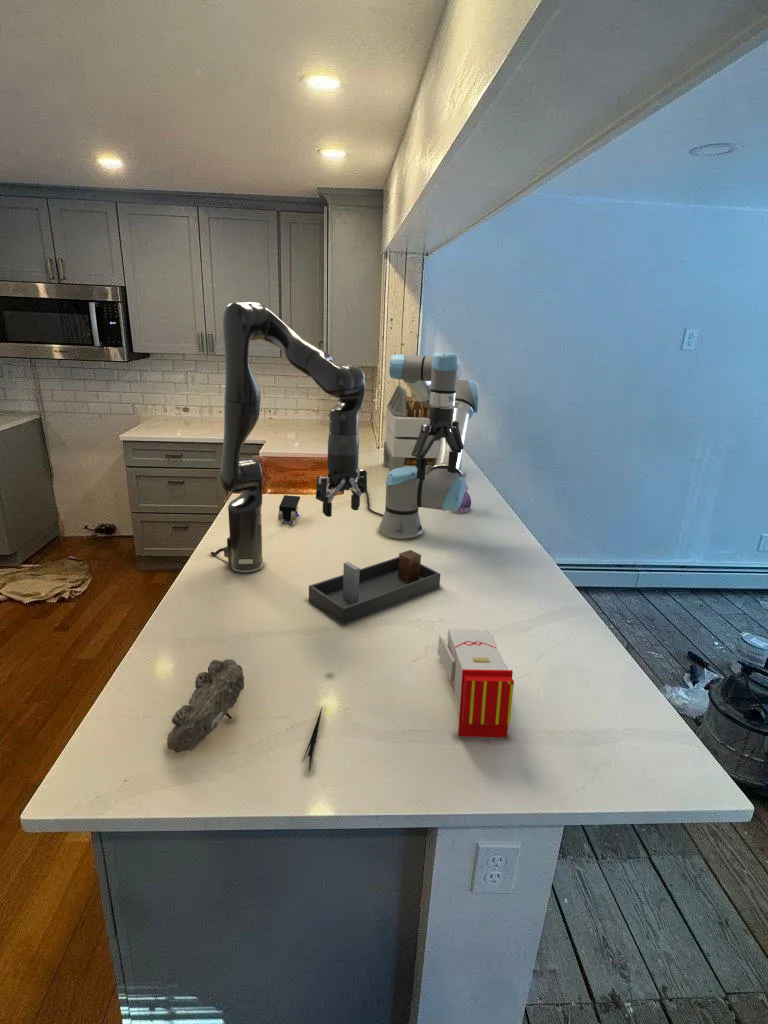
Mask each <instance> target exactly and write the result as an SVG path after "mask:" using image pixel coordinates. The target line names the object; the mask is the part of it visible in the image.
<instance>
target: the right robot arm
mask: <svg viewBox="0 0 768 1024" xmlns="http://www.w3.org/2000/svg"><path fill="white" fill-rule="evenodd" d="M462 371H463V365H462V362H461V361H460V360H459V355H458V353H455V352H445V351H438V352H434V353H433V355H432V356H431V355H430V356H429V355H413V354H404V353H402V354H398V353H397V354H392V356H391V357H390V359H389V364H388V373H389V377H390V378H391V379H392V380H393V379H394V380H402V381H403V382H404V383H405V385H406V386H407V388H408V389H409V392H410V396H412V397H413V398H414V399H415V400H416V401H417V402H419V403H420V404H422V405H424V406H426V407H429V416H428V418H429V419H430V424H429V425H425V424H422V426H421V432H420V434H419V437H418V439H417V442H416V444H415V447H414V449H413V452H412V456H414V457H416V458H417V464H416V466H404V467H401V468H396V469H393V470H391V471H390V470H389V472H388V473H387V475H386V482H385V504H384V505H385V507H384V508H385V509H384V513H380V512H377V511H375V510H373V509H371V508H370V498H369V497H370V496H369V493H368V491H367V492H366V493H365V496H366V504H367V510H368V511H369V512H370V513H372V514H374V515H377V516H380V517H382V519H381V522H379V525H378V533H379V534H380V535H381V536H382V537H385V538H387V539H389V540H395V541H410V540H415V539H418V538H420V537H421V536H422V535H423V525H422V524H421V518H420V515H419V508H422V509H430V510H431V509H432V510H440V511H444V512H453V511H456V510H457V509H458V508H459V507H460V505H461V502H462V499H463V496H464V491H465V486H466V484H467V479H466V480H465V478H462V477H463V472H462V470H461V471H460V470H459V469H460V463H461V464H462V462H461V458H462V457H463V449H464V447H465V440H466V434H467V427H468V422H469V420H470V419H472V418H473V416H474V414H477V413H478V412H479V384H478V382H476V381H475V380H469V379H460V377H461V375H462V373H463V372H462ZM431 435H432V436H431ZM437 439H440V443H439V448H438V453H437V458H436V464H435V466H431V468H430V469H429V472H428V473H426V468H427V466H426V459H425V458H424V457H425V456H426V454H427V452H428V451H429V449H430V447H431V446H432V444H433V443H434V441H436V440H437ZM416 452H417V453H416ZM355 483H356V484H357V481H356V480H355Z"/></svg>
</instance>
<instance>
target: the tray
mask: <svg viewBox="0 0 768 1024" xmlns="http://www.w3.org/2000/svg"><path fill="white" fill-rule="evenodd" d="M398 566H399V556H397V557H394V558H390V559H388V560H384V561H382V562H378V563H375V564H372V565H369V566H366V567H363V568H360V567H359V566H357V565H356V564H354V563H351V562H350V561H346V562H343V569H342V570H343V572H342V573H343V574H341V575H338V576H335V577H331V578H329V579H325V580H322V581H319V582H316V583H313V584H309V585H308V601H310V602H311V603H313V604H314V605H315V606H316V607H318V608H320V610H322V611H324V612H325V613H326V614H328V615H329V616H330V617H331V618H333V619H334V620H337V621H338V622H339V623H340V624H342V625H347V624H349V623H351V622H353V621H356V620H359V619H361V618H364V617H366V616H369V615H371V614H374V613H377V612H380V611H382V610H384V609H387V608H390V607H393V606H394V605H398V604H400V603H402V602H405V601H407V600H410V599H413V598H415V597H417V596H420V595H423V594H426V593H428V592H431V591H433V590H437V589H439V588H440V586H441V585H440V584H441V573H440V572H438V571H436V570H434V569H432V568H430V567H428V566H426V565H424V564H423V563H421V564H420V578H419V580H418V581H415V582H412V583H409V584H407V583H405V582H403V581H402V580H400V579H398Z"/></svg>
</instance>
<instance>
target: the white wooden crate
mask: <svg viewBox="0 0 768 1024" xmlns="http://www.w3.org/2000/svg"><path fill="white" fill-rule="evenodd" d="M407 394H408V393H407V390H406V389H404V388H403V387H402V385H399V384H398V385H397V386H396V388H395V390H394V392H393V394H392V395H391V398H390V400H389V402H388V404H387V405H386V413H385V414H386V415H385V423H386V428H385V438H384V442H383V466H384V467H388V468H389V472H390V471H391V470H393V469H396V468H401V467H405V466H406V467H416V464H417V458H416V457H414V456H412V452H413V449H414V447H415V444H416V442H417V439H418V437H419V434H420V432H421V426H422V424H425V425H429V424H430V419H429V418H428V416H429V407H426V406H424V405H422V404H420V403H419V402H417V401H416V400H415V399H414V398H413V397H412V395H407ZM431 436H432V435H431ZM439 443H440V439H437V440H436V441H434V443H433V444H432V446H431V447H430V449H429V451H428V452H427V454H426V456H425V457H424V458H425V459H426V467H433V466H435V464H436V458H437V453H438V448H439ZM416 453H417V452H416ZM462 461H463V460H462V457H461V463H460V469H459V470H460V471H461V472H462Z"/></svg>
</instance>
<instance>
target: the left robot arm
mask: <svg viewBox="0 0 768 1024" xmlns="http://www.w3.org/2000/svg"><path fill="white" fill-rule="evenodd" d="M222 328H223V329H222V332H223V345H224V347H223V348H224V359H225V361H224V362H225V363H224V364H225V366H224V368H225V371H224V372H225V373H224V374H225V377H224V379H225V381H224V382H225V383H224V403H223V404H224V405H223V410H224V411H223V413H224V415H223V416H224V417H223V419H224V420H223V421H224V423H223V442H222V450H221V458H220V468H219V473H220V474H219V475H220V476H219V478H220V483H221V487H222V488H223V490H224V491H225V492H226V493H228V494H235V493H239V492H241V493H240V495H238V497H236V498H233V499H232V500H231V501H230V502H229V503H228V506H227V511H228V513H227V514H228V531H229V536H228V537H227V538H226V546H225V547H222V548H221V547H220V548H218V549H217V550H216V551H215V552H214V551H210V555H211V556H217V555H219V554H220V553H221V552H223V557H225V558H227V566H228V569H231V570H232V571H234V572H237V573H241V574H243V573H254V572H256V571H260V570H261V569H262V568H263V567H264V558H263V527H262V505H263V488H264V487H263V486H264V484H263V483H264V475H263V467H262V466H261V463H260V461H259V460H258V459H257V458H256V457H253V456H248V457H242V458H241V451H242V449H243V446H244V444H245V442H246V441H247V439H248V437H249V436H250V434H251V433H252V432H253V429H254V428H255V426H256V425H257V423H258V421H259V418H260V413H261V398H262V397H261V389H260V386H259V384H258V382H257V380H256V377H255V375H254V373H253V371H252V369H251V366H250V357H249V353H250V351H249V350H250V342H252V341H259V340H263V341H265V342H268V343H270V344H272V345H274V346H276V347H277V348H279V350H280V351H281V352H282V354H283V356H284V357H285V359H286V360H287V362H288V363H289V364H290V365H291V366H293V367H294V368H296V369H297V370H298V371H300V372H302V374H304V375H306V376H308V377H309V378H311V379H312V381H314V382H315V384H317V386H318V387H319V388H320V389H321V390H322V391H323V392H324V393H325V394H327V395H328V396H330V397H332V398H337V399H338V402H337V404H336V405H335V406H334V407H332V408H331V409H330V411H329V417H328V419H329V421H328V423H329V424H328V427H329V428H328V429H329V430H328V438H327V466H326V467H327V470H328V473H327V476H321V475H318V476H317V477H316V485H315V486H316V488H315V499H316V500H318V501H320V502H322V513H323V515H324V516H325V517H327V518H330V517H332V515H333V514H332V513H333V511H332V510H333V503H332V501H333V500H334V497H336V496H337V495H338V493H341V492H344V491H350V492H351V495H350V497H351V498H350V508H351V510H352V511H359V508H360V505H361V496H362V495H363V494H366V492H367V493H368V471H367V470H365V469H362V468H359V454H360V438H359V423H360V413H361V409H362V406H363V402H364V398H365V394H366V386H367V381H366V376H365V373H364V371H363V370H362V369H361V368H360V367H359V366H358V365H354V364H353V365H351V364H349V365H341V366H339V365H337V364H335V363H334V361H333V357H332V356H331V355H330V353H328V352H327V351H326V350H324V349H323V348H321V347H319V346H317V345H316V344H314V343H312V342H311V341H309V340H307V339H306V338H304V337H303V336H301V335H300V334H299V333H298V332H296V331H295V330H293V329H292V328H291V327H290V326H289V325H287V324H286V323H285V322H284V321H283V320H282V319H281V318H280V317H278V316H277V314H275V313H274V312H273V311H272V310H271V309H269V308H268V307H267V306H266V305H264V304H263V303H261V302H258V301H236V302H231V303H229V304H228V305H227V306H226V307H225V310H224V312H223V318H222ZM356 480H357V481H356ZM355 481H356V482H357V484H356V483H355ZM332 489H333V490H332Z"/></svg>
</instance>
